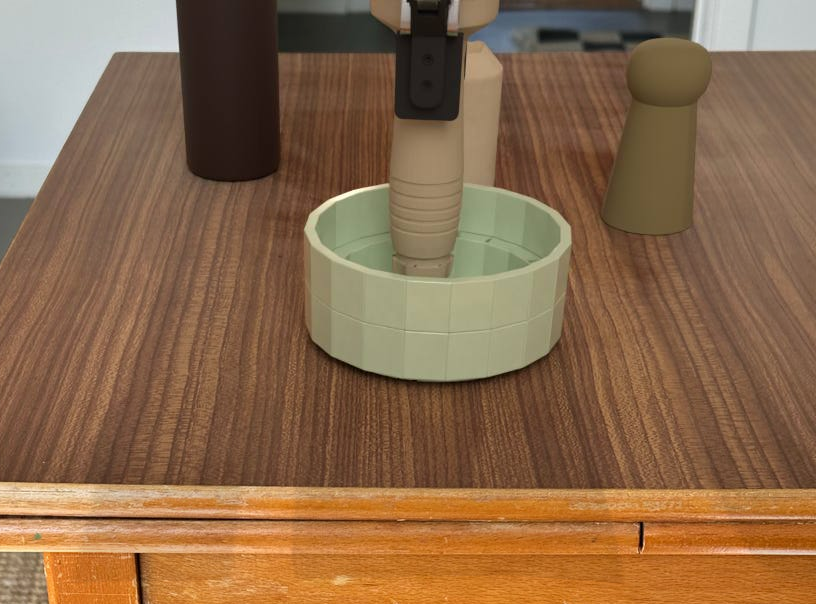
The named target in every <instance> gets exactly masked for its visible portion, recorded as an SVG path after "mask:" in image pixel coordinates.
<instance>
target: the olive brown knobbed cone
mask: <svg viewBox="0 0 816 604" xmlns="http://www.w3.org/2000/svg"><path fill="white" fill-rule="evenodd" d="M625 69H626V70H625V78H626V79H625V80H626V87H627V90H628V92H629V93H630V95H631V97H630V101H629V105H628V109H627V112H626V113H627V114H626V117H625V120H624V123H623V128H622V131H621V135H620V139H619V142H618V146H617V149H616V153H615V158H614V161H613V165H612V169H611V173H610V176H609V179H608V183H607V187H606V191H605V195H604V199H603V203H602V206H601V210H600V219H602V221H603V222H604V223H606V224H607V225H608V226H610V227H612V228H614V229H617V230H620V231H623V232H627V233H632V234H638V235H652V236H660V235H672V234H676V233H681V232H683V231H685V230H686V229H688V228H690V227H691V225H692V224H693V220H694V195H695V193H694V192H695V174H696V173H695V171H696V148H697V147H696V145H697V122H698V100H699V99H700V98H701V97H702V96H703V95H704V94H705V92H706V91H707V89H708V86H709V85H710V82H711V79H712V72H713V62H712V59H711V56H710V54H709V51H708V49H707V48H706V47H704V45H702V44H700V43H698V42H695V41H693V40H689V39H684V38H677V37H660V38H659V37H658V38H651V39H647V40H645V41H642V42H641V43H639V44H638V45H637V46H636V47H635V48H634V49H633V50H632V51H631V53H630V55H629V57H628V60H627V62H626V68H625Z"/></svg>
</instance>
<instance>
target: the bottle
mask: <svg viewBox="0 0 816 604" xmlns="http://www.w3.org/2000/svg"><path fill="white" fill-rule="evenodd" d="M175 10H176V27H177V39H178V40H177V43H178V56H179V70H180V71H179V73H180V84H181V99H182V100H181V101H182V115H183V116H182V117H183V129H184V144H185V145H184V146H185V159H186V165H187V168H188V170H190V171H191V172H192V173H194V174H195V175H197V176H200V177H202V178H204V179H207V180H208V179H209V180H213V181H221V182H222V181H223V182H242V181H249V180H250V181H251V180H255V179H260V178H263V177H266V176H269V175H270V174H272V173H273V172H275V171H276V170H277V169H278V168H279V166H280V164H281V162H282V161H281V160H282V157H281V154H282V153H281V114H280V108H281V107H280V68H279V67H280V65H279V26H278V25H279V24H278V23H279V22H278V20H279V19H278V0H175Z"/></svg>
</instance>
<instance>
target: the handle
mask: <svg viewBox="0 0 816 604" xmlns="http://www.w3.org/2000/svg"><path fill="white" fill-rule="evenodd" d="M499 7H500V0H460V13H459V28H458V32H461V33H464V38H463V55H462V72H461V89H460V107H459V114H458V117H457V118H456V119H455V120H453V121H437V120H413V119H400V118H398V117H397V116H396V115H395V114H394V116H393V117H394V118H393V129H392V130H393V131H392V139H391V151H390V162H389V177H388V179H389V180H388V183H389V185H390V186H389V209H390V210H389V217H390V230H391V239H392V246H393V249H394V250H395V251H396V254H394V255H392V266H393V272H394V273H395V274H400V275H405V276H414V277H432V278H448V277H449V276H450V275H451V271H452V267H453V261H454V255H453V254H450V253H451V252H452V251H453V250H454V246H455V242H456V238H457V233H458V228H459V221H460V211H461V206H462V196H463V179H464V178H463V174H464V59H465V52H466V44H467V41H468V39H469V38H470V37H471V35H473V34H475V33H477V32H478V31H481V30H483V29H485V28H486V27H487V26H489V25H490V24H491V23H492V22H494V21H495V19H497V17H498V14H499V10H500V9H499ZM369 10H370V14H371V16H373V17H374V18H375V19H377V20H378V21H379V22H380V23H382V24H383V25H385V26H386V27H387V28H389V29H390V30H392V31H393V32H394V34H396V33H397V30H400V19H401V0H369Z"/></svg>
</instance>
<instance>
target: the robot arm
mask: <svg viewBox="0 0 816 604" xmlns="http://www.w3.org/2000/svg"><path fill="white" fill-rule="evenodd" d="M459 13H460V0H401V19H400V30H397V33H395V35H396V36H395V37H396V39H395V71H394V73H395V75H394V106H393V107H394V109H393V111H394V116H395V115H396V116H397V117H398V118H400V119H413V120H437V121H453V120H455V119H456V118H457V117H458V114H459V107H460V89H461V72H462V55H463V38H464V33H461V32H458V28H459ZM466 55H467V44H466V52H465V59H464V80H465V71H466Z"/></svg>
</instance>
